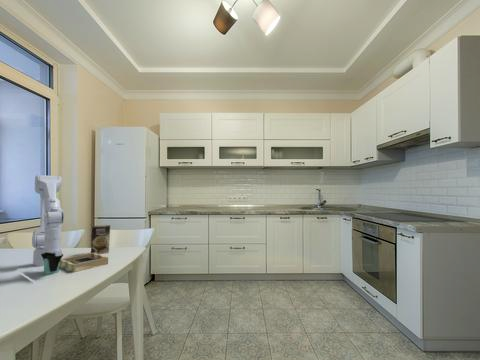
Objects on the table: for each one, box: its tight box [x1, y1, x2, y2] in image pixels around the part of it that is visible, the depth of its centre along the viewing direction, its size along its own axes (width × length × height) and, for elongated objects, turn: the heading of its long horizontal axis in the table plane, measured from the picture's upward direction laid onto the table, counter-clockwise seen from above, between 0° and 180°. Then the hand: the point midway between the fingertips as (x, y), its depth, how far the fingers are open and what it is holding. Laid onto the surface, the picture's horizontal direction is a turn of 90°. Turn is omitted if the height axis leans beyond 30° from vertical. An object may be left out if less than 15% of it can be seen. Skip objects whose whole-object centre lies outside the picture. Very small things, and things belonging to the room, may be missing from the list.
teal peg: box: [43, 258, 60, 276], centre depth 103 cm, size 4×4×7 cm
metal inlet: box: [70, 256, 97, 264], centre depth 113 cm, size 8×8×2 cm
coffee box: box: [90, 224, 111, 255], centre depth 137 cm, size 9×6×16 cm
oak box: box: [59, 252, 109, 274], centre depth 113 cm, size 15×15×4 cm
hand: (51, 270), depth 103 cm, fingers closed on teal peg, 4 cm apart
